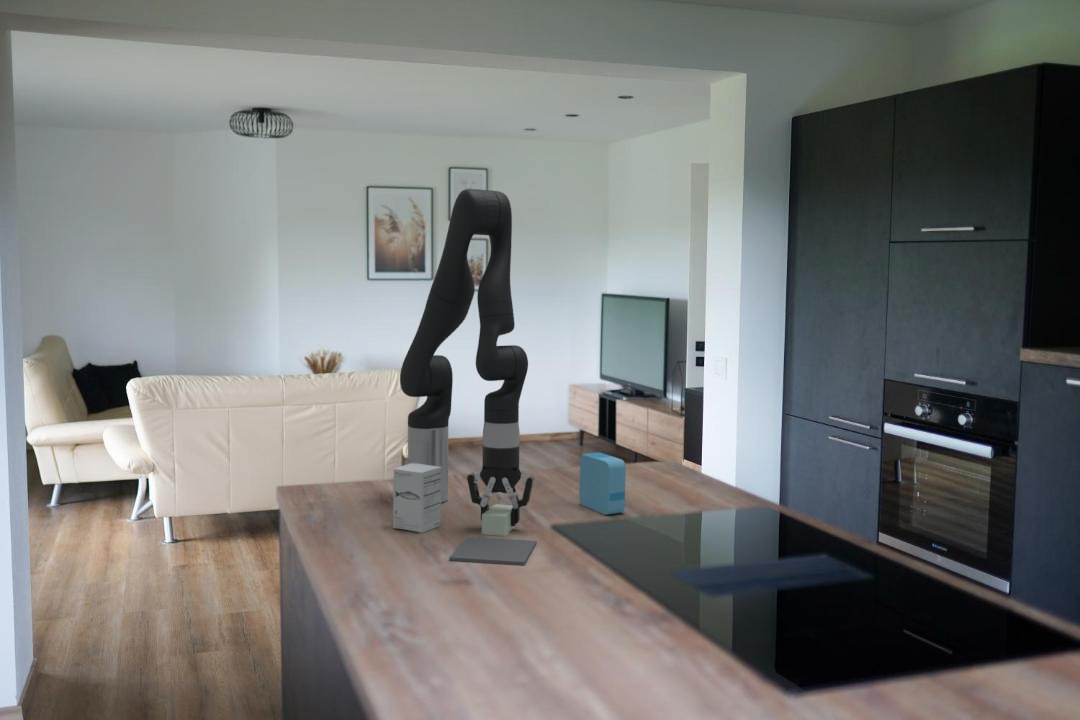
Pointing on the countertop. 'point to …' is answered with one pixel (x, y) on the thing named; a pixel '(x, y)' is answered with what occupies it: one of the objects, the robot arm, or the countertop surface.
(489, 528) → the box
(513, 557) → the mat
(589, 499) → the blue box
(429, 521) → the supplement box
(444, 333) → the robot arm
